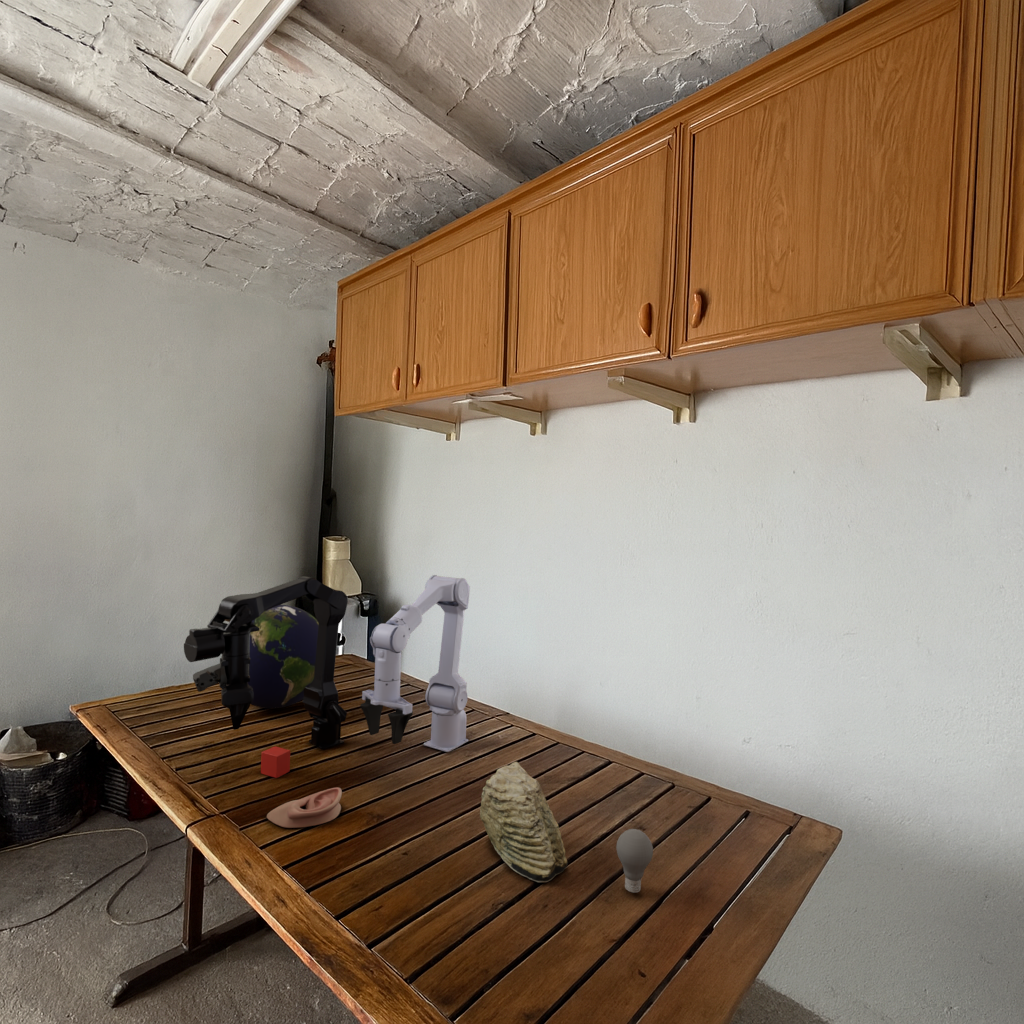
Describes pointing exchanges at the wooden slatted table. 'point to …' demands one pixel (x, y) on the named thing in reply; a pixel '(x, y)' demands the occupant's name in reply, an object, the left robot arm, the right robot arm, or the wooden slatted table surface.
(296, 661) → the globe
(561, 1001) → the wooden slatted table surface
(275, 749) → the block
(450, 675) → the right robot arm
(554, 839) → the fossil
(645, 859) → the light bulb
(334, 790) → the anatomical model
